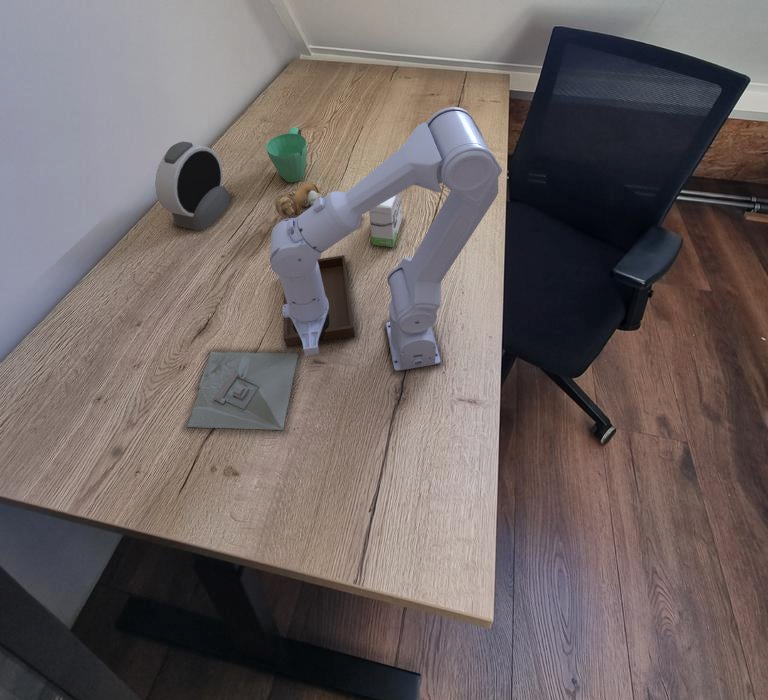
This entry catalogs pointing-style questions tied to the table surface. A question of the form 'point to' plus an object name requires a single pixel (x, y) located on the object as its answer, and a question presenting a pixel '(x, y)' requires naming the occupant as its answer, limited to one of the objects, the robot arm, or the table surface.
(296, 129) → the mug
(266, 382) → the grey green square plate
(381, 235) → the ink box
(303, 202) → the lion figurine
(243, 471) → the table surface
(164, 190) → the alarm clock
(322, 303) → the robot arm
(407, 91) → the table surface
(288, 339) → the tray
